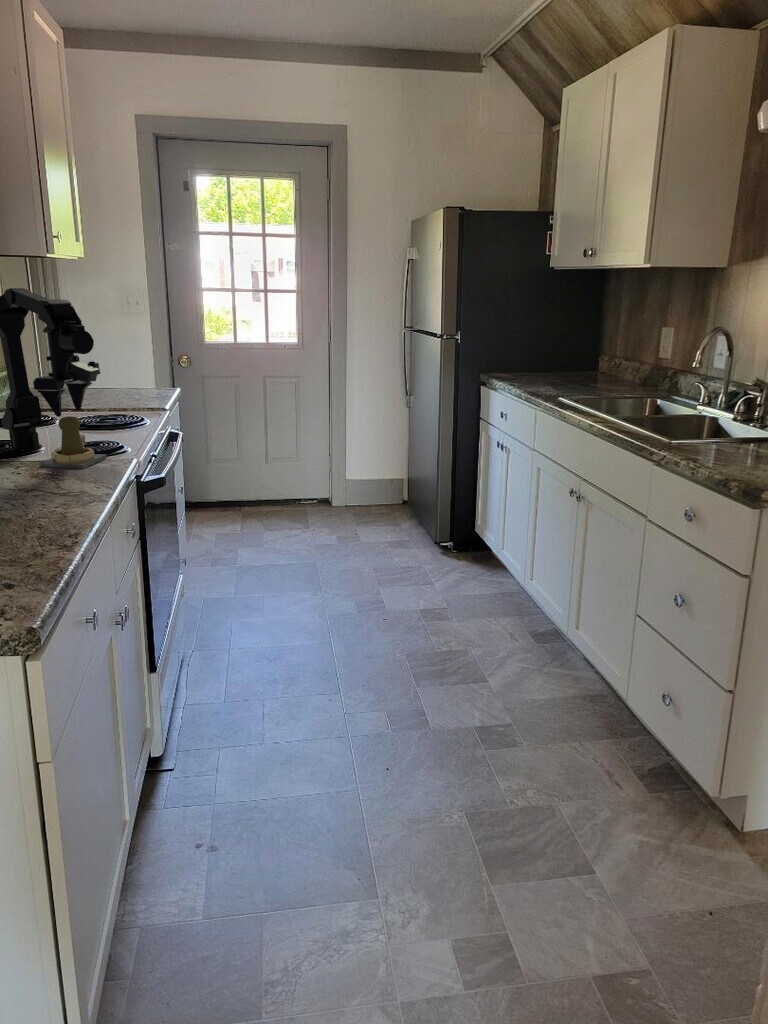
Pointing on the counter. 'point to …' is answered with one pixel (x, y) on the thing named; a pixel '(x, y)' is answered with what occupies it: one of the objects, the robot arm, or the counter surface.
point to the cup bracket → (73, 459)
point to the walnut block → (83, 439)
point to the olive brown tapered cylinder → (71, 436)
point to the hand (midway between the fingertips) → (68, 413)
